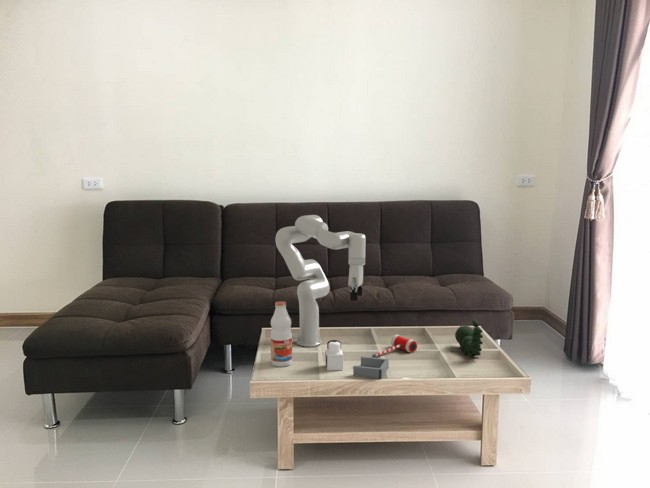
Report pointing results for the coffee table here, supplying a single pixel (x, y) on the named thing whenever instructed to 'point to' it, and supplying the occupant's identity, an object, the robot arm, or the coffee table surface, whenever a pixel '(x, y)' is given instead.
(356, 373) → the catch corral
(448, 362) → the coffee table surface
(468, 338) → the toy figurine
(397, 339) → the toy hammer
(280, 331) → the fruit juice
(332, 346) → the medicine bottle
